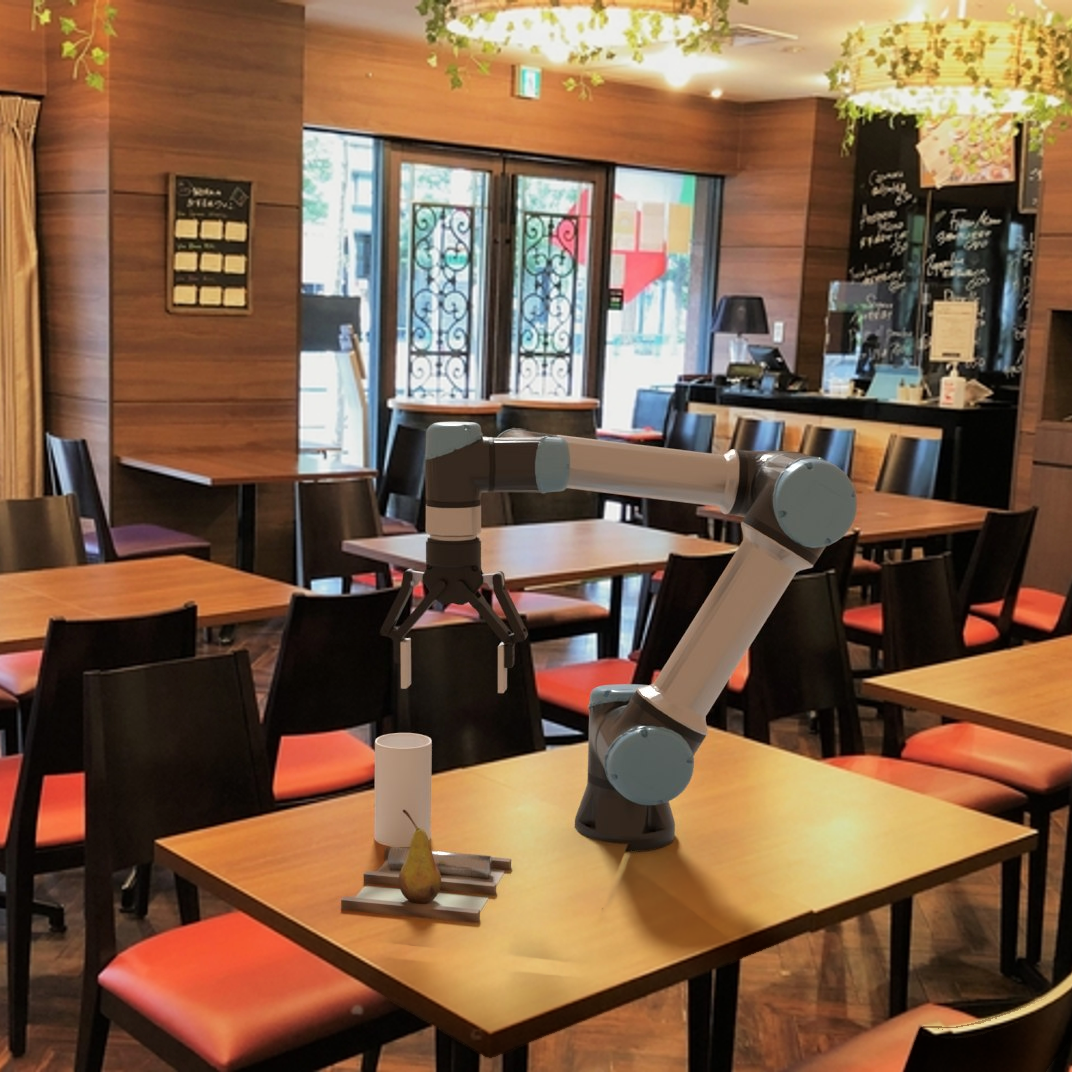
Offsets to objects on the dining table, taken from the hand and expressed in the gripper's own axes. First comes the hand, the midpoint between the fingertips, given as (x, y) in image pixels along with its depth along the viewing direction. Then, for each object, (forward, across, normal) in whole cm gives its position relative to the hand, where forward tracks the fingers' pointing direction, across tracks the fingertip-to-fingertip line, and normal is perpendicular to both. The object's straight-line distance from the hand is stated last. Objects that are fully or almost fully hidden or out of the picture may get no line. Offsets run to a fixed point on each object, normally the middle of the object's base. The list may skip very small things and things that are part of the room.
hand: (453, 688), depth 207 cm
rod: (+25, +1, +5) cm, 25 cm away
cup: (+26, +10, -8) cm, 29 cm away
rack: (+26, +1, +10) cm, 28 cm away
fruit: (+25, +1, +16) cm, 29 cm away
